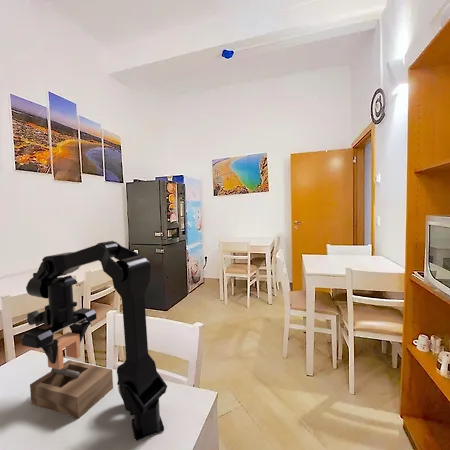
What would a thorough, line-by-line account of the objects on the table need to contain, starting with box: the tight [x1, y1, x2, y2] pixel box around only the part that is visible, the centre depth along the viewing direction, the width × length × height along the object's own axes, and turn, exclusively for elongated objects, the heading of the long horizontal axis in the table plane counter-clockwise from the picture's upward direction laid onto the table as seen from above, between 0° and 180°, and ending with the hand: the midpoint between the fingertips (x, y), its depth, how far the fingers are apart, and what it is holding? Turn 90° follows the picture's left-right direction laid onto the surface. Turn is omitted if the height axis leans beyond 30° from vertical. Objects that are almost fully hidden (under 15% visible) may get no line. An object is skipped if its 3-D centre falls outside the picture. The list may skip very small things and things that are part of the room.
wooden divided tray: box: [29, 360, 114, 420], centre depth 77 cm, size 16×12×7 cm
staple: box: [47, 331, 82, 370], centre depth 77 cm, size 7×4×6 cm, turn 161°
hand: (64, 356), depth 78 cm, fingers closed on staple, 7 cm apart
